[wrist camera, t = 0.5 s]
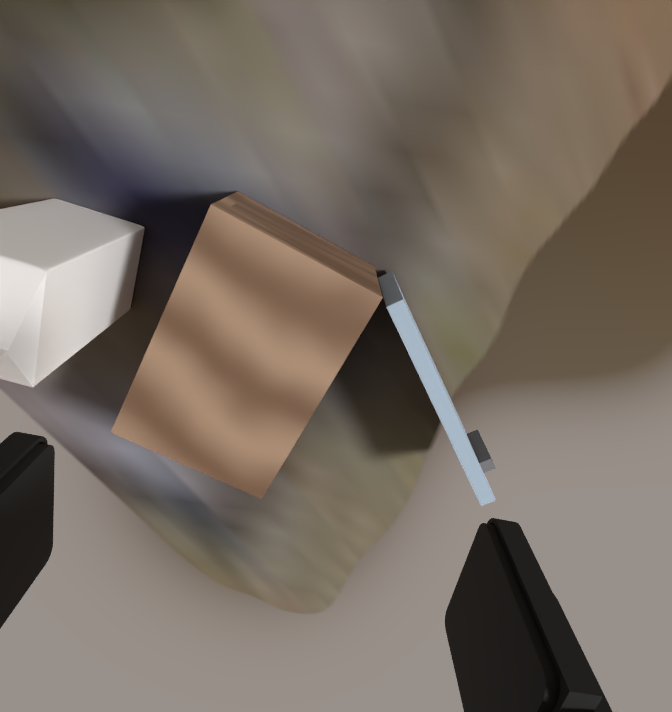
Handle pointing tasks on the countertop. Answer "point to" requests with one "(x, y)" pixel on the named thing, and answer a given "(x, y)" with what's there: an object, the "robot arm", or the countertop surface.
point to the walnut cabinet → (247, 344)
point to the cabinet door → (439, 392)
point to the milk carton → (60, 283)
